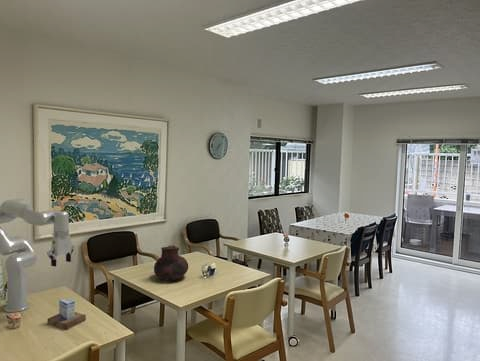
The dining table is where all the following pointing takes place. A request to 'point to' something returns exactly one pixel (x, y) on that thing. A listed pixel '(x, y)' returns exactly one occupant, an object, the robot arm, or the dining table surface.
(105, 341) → the dining table surface
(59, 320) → the walnut stand
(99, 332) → the dining table surface
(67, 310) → the medicine box
